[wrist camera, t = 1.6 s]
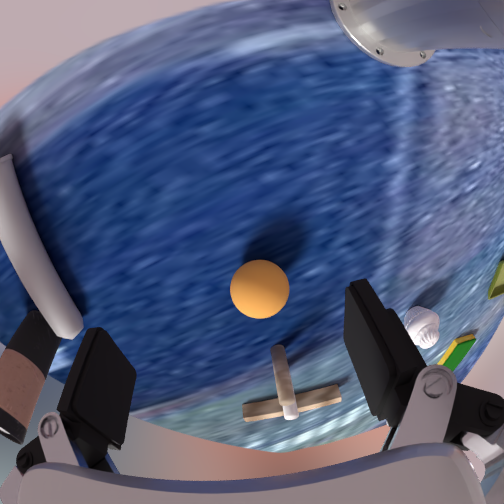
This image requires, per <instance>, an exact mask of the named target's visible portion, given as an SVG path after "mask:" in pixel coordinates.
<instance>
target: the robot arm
mask: <svg viewBox="0 0 504 504" xmlns="http://www.w3.org/2000/svg"><path fill="white" fill-rule="evenodd" d="M330 5H331V9H332V12H333V14H334V17H335V19H336V21H337V23H338V24H339V26H340V28H341V29H342V31H343V32H344V33H345V35H346V36H347V37H348V38H349V39H350V40H351V42H352V43H354V44H355V45H356V46H357V47H358V48H359V49H360V50H361V51H363V52H364V53H366V54H367V55H369V56H370V57H371V58H373V59H375V60H377V61H379V62H381V63H384V64H387V65H390V66H396V67H412V66H418V65H420V64H422V63H425V62H426V61H427V60H428V59H430V58H431V56H432V55H433V54H434V52H435V50H439V49H459V48H488V49H504V0H330ZM339 7H340V8H341V9H339ZM376 51H377V52H376ZM344 342H345V345H346V348H347V350H348V353H349V355H350V358H351V360H352V363H353V366H354V368H355V371H356V373H357V376H358V379H359V381H360V384H361V387H362V389H363V392H364V395H365V398H366V400H367V403H368V406H369V409H370V411H371V414H372V415H373V416H376V415H377V417H378V420H379V421H381V420H384V419H386V420H387V423H388V425H389V426H390V427H391V428H390V431H389V433H388V435H387V438H386V440H385V442H384V444H383V446H382V448H381V450H380V452H379V453H375V454H372V455H368V456H365V457H361V458H358V459H354V460H351V461H347V462H343V463H339V464H335V465H331V466H327V467H322V468H318V469H313V470H308V471H303V472H298V473H292V474H286V475H280V476H272V477H264V478H255V479H244V480H227V481H180V480H164V479H152V478H143V477H135V476H128V475H121V474H120V473H119V471H118V470H117V468H116V466H115V465H114V463H113V461H112V460H111V458H110V456H109V454H108V452H107V450H108V448H110V449H115V450H121V445H122V444H123V443H124V439H125V433H126V427H127V420H128V416H129V410H130V405H131V400H132V395H133V390H134V385H135V381H136V371H135V369H134V367H133V366H132V365H131V364H130V362H129V361H128V360H127V358H126V357H125V356H124V355H123V353H122V352H121V351H120V349H119V348H118V347H117V345H116V344H115V342H114V341H113V340H112V338H111V337H110V335H109V334H108V333H107V331H105V330H104V329H103V328H101V327H97V328H89V329H88V330H87V331H86V333H85V336H84V338H83V340H82V343H81V345H80V347H79V350H78V352H77V355H76V357H75V360H74V362H73V365H72V367H71V370H70V372H69V375H68V378H67V380H66V383H65V386H64V389H63V392H62V395H61V398H60V401H59V404H58V407H57V410H58V411H59V412H60V415H58V414H57V413H54V412H49V413H47V414H45V415H44V416H43V417H42V419H41V420H40V422H39V425H38V435H39V436H37V437H36V438H35V439H34V440H32V441H31V442H30V443H29V444H27V445H26V446H25V447H23V448H22V449H21V450H20V451H19V453H18V455H17V458H16V464H17V466H14V468H13V469H12V471H11V472H10V474H9V475H8V477H7V478H6V480H5V481H4V483H3V484H2V486H1V488H0V499H1V501H2V503H3V504H504V399H503V398H502V397H501V396H499V395H497V394H495V393H491V392H487V391H484V390H480V389H477V388H473V387H470V386H466V385H463V384H460V383H457V380H456V376H455V375H454V373H453V372H452V371H451V370H450V369H449V368H448V367H446V366H443V365H438V364H434V365H429V366H427V365H426V363H425V361H424V360H423V358H422V356H421V354H420V353H419V351H418V349H417V347H416V346H415V344H414V342H413V340H412V339H411V337H410V335H409V334H408V332H407V330H406V329H405V327H404V325H403V324H402V322H401V320H400V319H399V317H398V316H397V314H396V312H395V311H394V310H393V309H391V308H388V309H385V308H384V306H383V304H382V303H381V301H380V299H379V298H378V296H377V295H376V293H375V291H374V290H373V288H372V287H371V285H370V284H369V282H368V281H367V279H361V280H357V281H353V282H350V286H349V287H346V289H345V317H344ZM462 450H466V451H468V450H471V451H473V452H474V453H475V454H477V455H478V456H477V458H478V459H480V460H481V461H482V462H483V463H484V465H485V469H486V471H485V476H484V478H483V480H482V481H481V483H480V482H479V479H478V477H477V475H476V472H475V470H474V468H473V466H472V464H471V462H470V461H469V459H468V458H467V456H466V455H465V453H464V452H463V451H462Z"/></svg>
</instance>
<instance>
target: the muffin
mask: <svg viewBox="0 0 504 504" xmlns="http://www.w3.org/2000/svg"><path fill="white" fill-rule="evenodd" d="M404 327H405V329H406V330H407V332H408V334H409V335H410V337H411V339H412V340H413V342H414V344H415V345H420V347H421V348H424V349H425V348H429V347H431V346H433V345H434V344H435V343H436V342H437V341H438V339H439V332H438V327H439V317H438V315H437V314H436V313H435V312H432V311H431V310H429V309H426V308H423V307H420V306H414V307H413V308H411V309H410V310H408V311H407V313H406V315H405V317H404Z"/></svg>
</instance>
